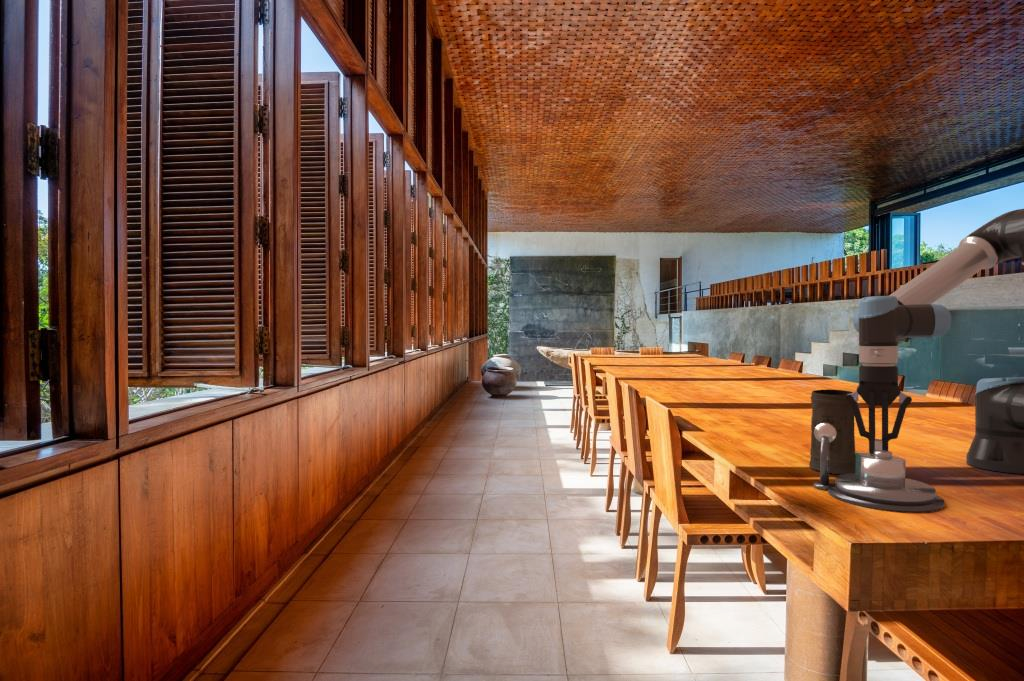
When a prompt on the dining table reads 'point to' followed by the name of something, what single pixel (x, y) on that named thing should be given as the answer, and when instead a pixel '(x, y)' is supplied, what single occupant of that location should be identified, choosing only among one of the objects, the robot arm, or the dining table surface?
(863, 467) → the cover
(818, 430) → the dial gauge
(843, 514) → the dining table surface
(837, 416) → the beer stein
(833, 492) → the base plate
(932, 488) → the turntable
